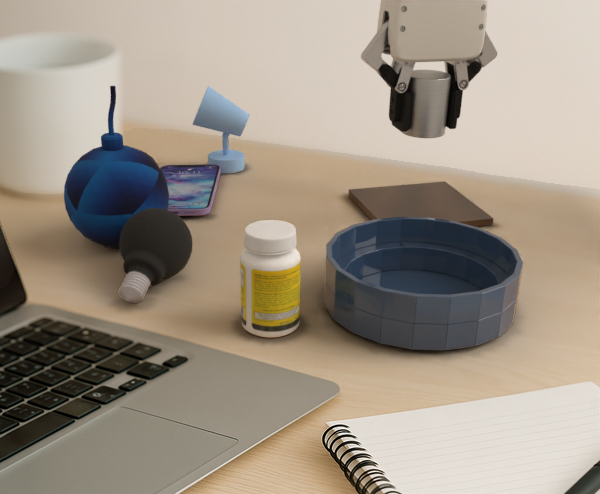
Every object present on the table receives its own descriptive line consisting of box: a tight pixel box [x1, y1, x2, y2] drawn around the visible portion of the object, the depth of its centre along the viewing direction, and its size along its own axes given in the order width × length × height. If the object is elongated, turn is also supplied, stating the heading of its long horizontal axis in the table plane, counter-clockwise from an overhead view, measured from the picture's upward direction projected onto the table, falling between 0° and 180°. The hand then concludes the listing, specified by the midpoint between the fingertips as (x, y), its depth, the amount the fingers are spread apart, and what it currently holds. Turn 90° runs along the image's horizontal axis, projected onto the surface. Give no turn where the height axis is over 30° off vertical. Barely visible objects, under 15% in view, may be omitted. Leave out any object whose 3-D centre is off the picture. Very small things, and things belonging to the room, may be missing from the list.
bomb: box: [63, 85, 169, 249], centre depth 78 cm, size 10×11×15 cm
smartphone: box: [159, 163, 222, 217], centre depth 94 cm, size 7×1×15 cm
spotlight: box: [192, 85, 250, 175], centre depth 100 cm, size 5×10×7 cm
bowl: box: [324, 217, 524, 351], centre depth 70 cm, size 16×16×5 cm
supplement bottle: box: [239, 219, 302, 338], centre depth 65 cm, size 5×5×8 cm
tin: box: [401, 69, 451, 139], centre depth 85 cm, size 5×5×6 cm
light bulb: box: [118, 208, 193, 304], centre depth 72 cm, size 6×6×10 cm
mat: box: [347, 180, 494, 228], centre depth 91 cm, size 12×12×1 cm
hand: (423, 125), depth 86 cm, fingers closed on tin, 4 cm apart
